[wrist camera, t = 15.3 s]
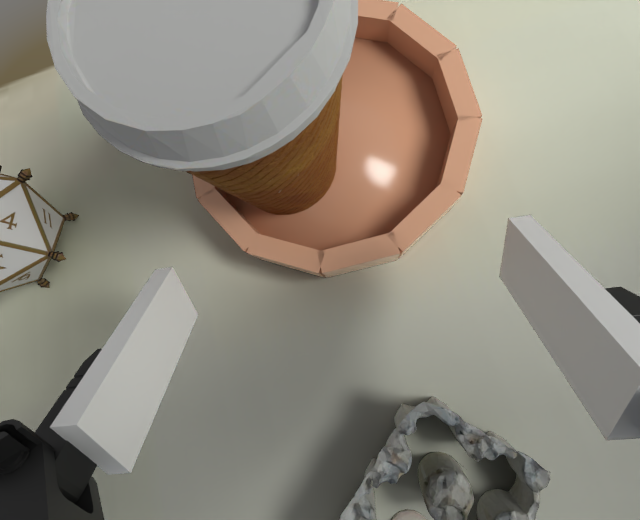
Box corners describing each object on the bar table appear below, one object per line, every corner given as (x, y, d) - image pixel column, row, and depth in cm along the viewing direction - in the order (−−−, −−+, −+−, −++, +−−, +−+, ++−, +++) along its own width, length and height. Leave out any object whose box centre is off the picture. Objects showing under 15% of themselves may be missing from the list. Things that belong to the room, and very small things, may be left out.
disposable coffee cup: (231, 260, 21) (53, 196, 9) (199, 123, 22) (14, -83, 11) (383, 214, 20) (406, 75, 8) (338, 74, 22) (303, -208, 10)
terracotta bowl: (524, 137, 20) (546, 113, 18) (324, 330, 20) (318, 333, 18) (333, -14, 23) (329, -52, 21) (161, 152, 23) (137, 133, 21)
